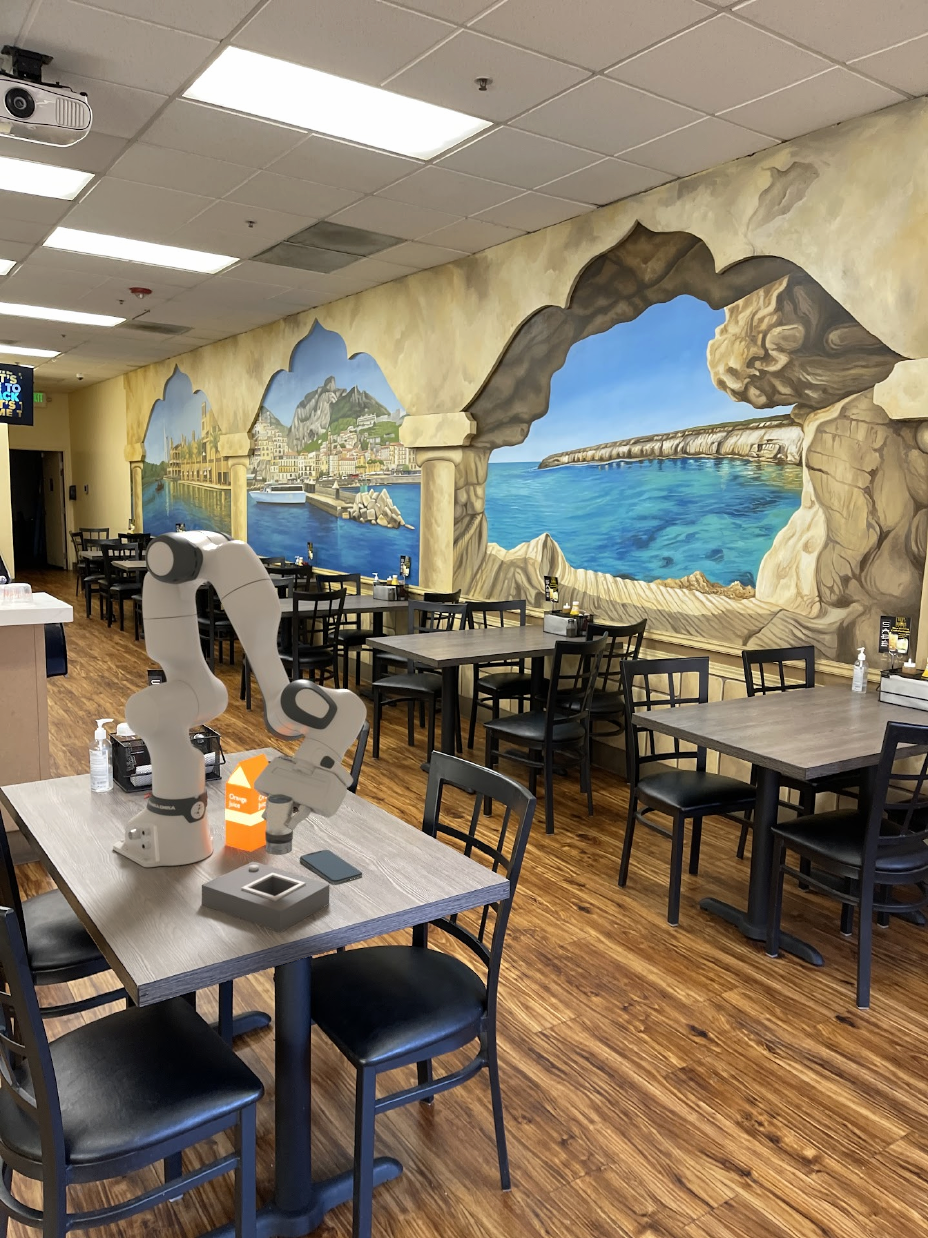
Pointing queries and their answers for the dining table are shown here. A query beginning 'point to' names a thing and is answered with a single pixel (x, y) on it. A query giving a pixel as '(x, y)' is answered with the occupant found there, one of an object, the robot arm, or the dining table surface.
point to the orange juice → (245, 806)
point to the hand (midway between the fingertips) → (276, 823)
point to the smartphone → (330, 866)
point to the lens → (278, 824)
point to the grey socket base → (265, 895)
